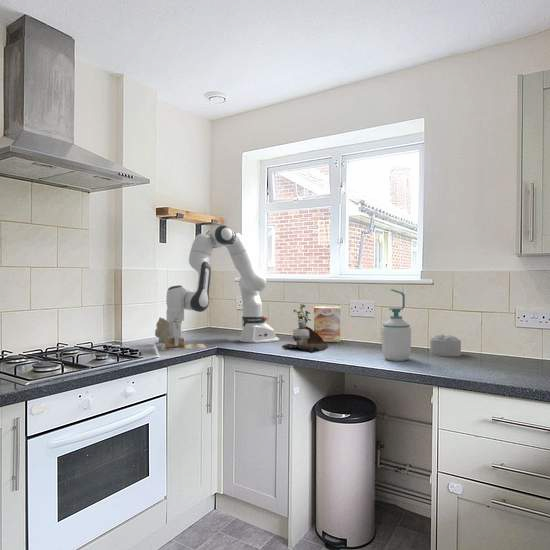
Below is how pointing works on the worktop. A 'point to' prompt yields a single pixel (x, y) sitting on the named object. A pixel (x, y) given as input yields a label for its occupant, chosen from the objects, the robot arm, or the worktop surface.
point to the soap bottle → (396, 336)
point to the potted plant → (306, 335)
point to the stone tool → (162, 330)
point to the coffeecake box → (328, 323)
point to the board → (186, 346)
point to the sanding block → (171, 343)
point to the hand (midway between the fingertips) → (175, 344)
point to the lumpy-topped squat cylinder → (445, 346)
